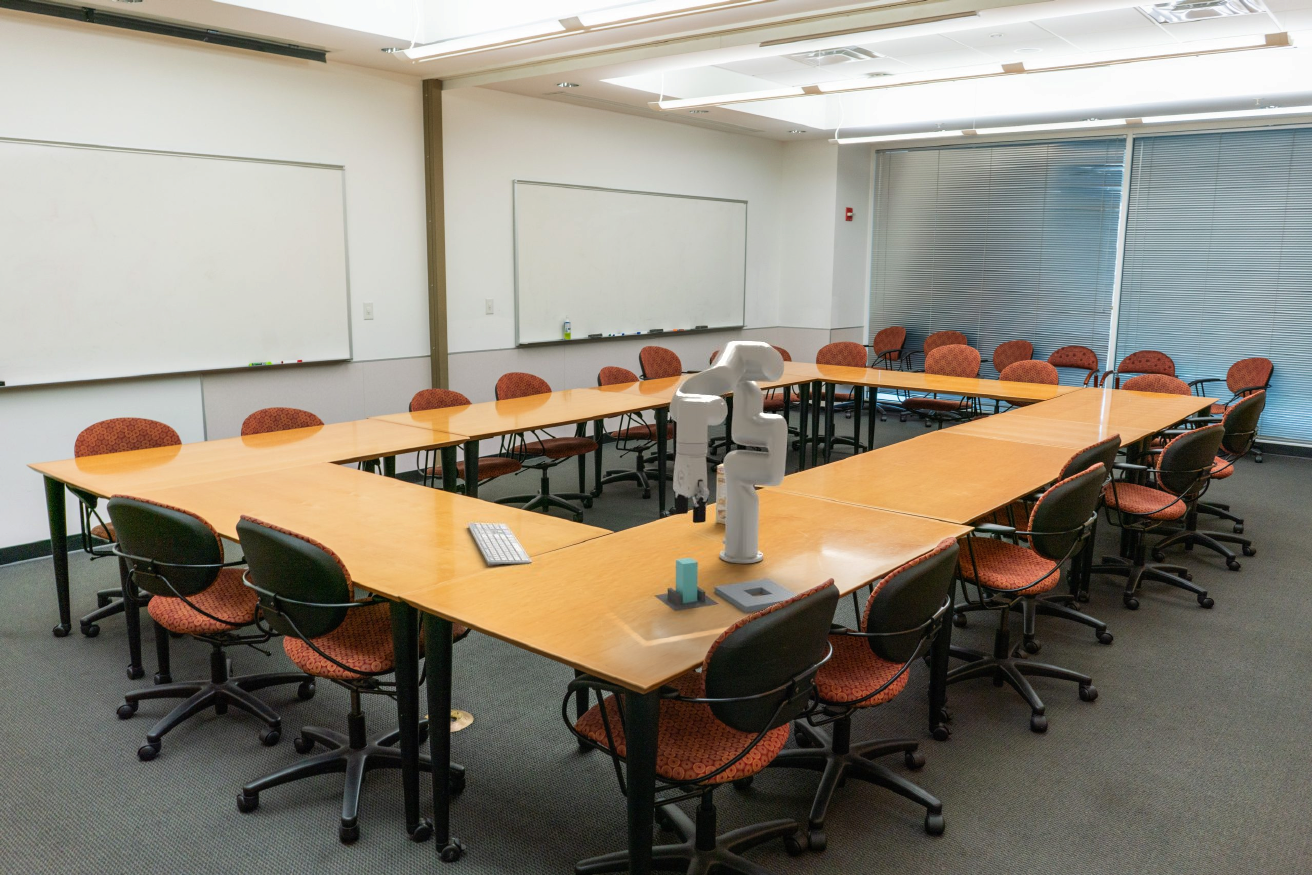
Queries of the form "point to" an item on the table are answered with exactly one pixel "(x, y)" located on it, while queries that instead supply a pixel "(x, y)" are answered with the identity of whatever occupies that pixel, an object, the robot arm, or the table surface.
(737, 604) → the plate
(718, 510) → the coffeecake box
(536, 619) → the table surface
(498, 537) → the keyboard
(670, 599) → the dark grey holder stand
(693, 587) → the plug
